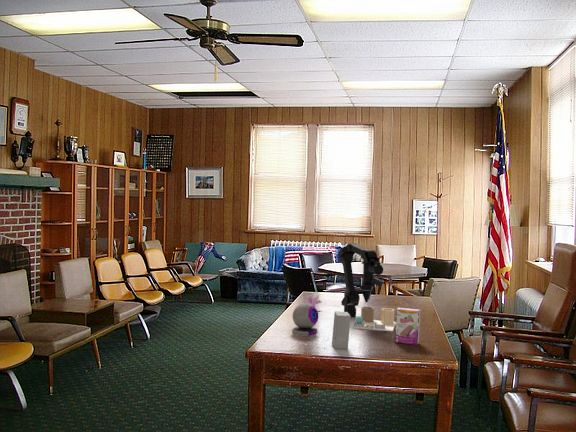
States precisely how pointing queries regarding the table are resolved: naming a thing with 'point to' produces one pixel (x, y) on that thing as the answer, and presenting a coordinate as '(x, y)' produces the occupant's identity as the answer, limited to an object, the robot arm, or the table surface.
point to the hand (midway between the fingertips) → (367, 300)
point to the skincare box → (341, 330)
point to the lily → (312, 300)
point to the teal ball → (359, 319)
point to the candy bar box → (407, 326)
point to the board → (371, 324)
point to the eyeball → (305, 319)
